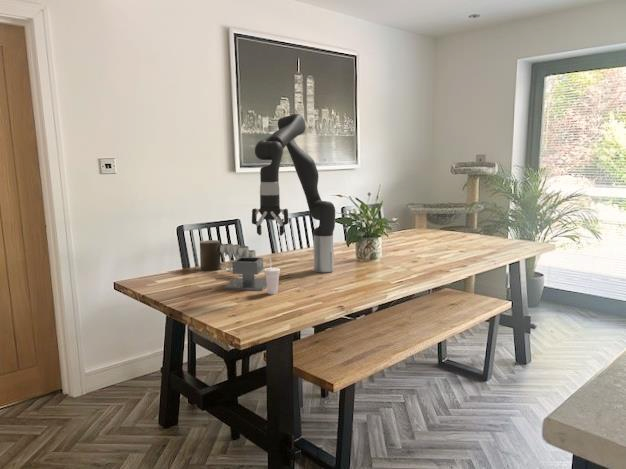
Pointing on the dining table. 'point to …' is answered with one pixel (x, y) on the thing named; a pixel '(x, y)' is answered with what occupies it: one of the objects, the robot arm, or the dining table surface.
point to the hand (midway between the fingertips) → (270, 235)
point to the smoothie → (272, 279)
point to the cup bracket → (247, 274)
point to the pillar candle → (210, 255)
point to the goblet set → (235, 253)
